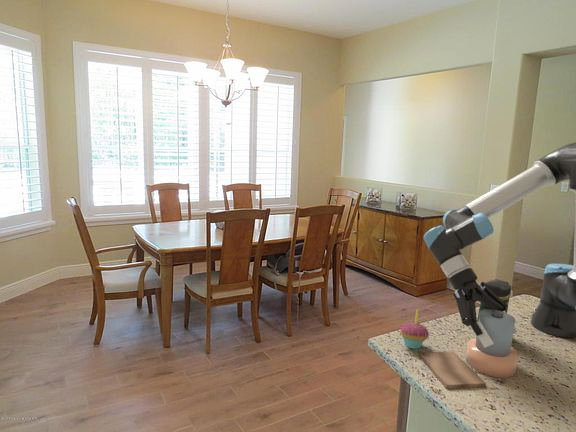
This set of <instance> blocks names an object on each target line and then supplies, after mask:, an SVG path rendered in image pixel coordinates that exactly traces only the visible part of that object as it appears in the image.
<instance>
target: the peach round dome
mask: <svg viewBox="0 0 576 432" xmlns="http://www.w3.org/2000/svg"><path fill="white" fill-rule="evenodd" d="M475 342H476V337H474V338H470V339H469V340H468V341H467V348H466V354H465V363H466V364H467V365H468V366H469V367H470V368H471V369H472V370H475V371H476V372H479V373H481V374H483V375H486V376H488V377H489V376H490V377H493V378H504V379H505V378H512V377H513V376H514V375H516V373H517V372H516V371H517V366H518V360H519V353H518V351H517V350H516V349H515V348H514V347H513V346H511V351H510V355H509V356H506V357H496V356H491V355H488V354H485V353H483V352H481V351H480V350H478V349H477V348H476V346H475Z"/></svg>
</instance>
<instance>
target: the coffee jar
mask: <svg viewBox="0 0 576 432" xmlns="http://www.w3.org/2000/svg"><path fill="white" fill-rule="evenodd" d="M484 283H485V284H486V285H487V287H488V288H489V289H490V290H491V291H492V292H493V293H494V294H496V295H497V296H498V297H499V298H500V299H501V300H502V301H503V302H504V303H505V304H506V305H507V310H505V312H506V313H507V314H508V308H509V303H510V297H511V294H512V286H511V284H510V283H509V282H508V281H504V280H501V279H499V278H495V279H491V280H490V279H489V281H486V282H484ZM500 305H501V304H500ZM487 309H489V310H492V309H491V308H489V307H488V306H486V305H485V304H484V303H482V302H479V308H478V315H477V322H478V320H479V313H480V311H481V310H487ZM477 322H476V323H477Z"/></svg>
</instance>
